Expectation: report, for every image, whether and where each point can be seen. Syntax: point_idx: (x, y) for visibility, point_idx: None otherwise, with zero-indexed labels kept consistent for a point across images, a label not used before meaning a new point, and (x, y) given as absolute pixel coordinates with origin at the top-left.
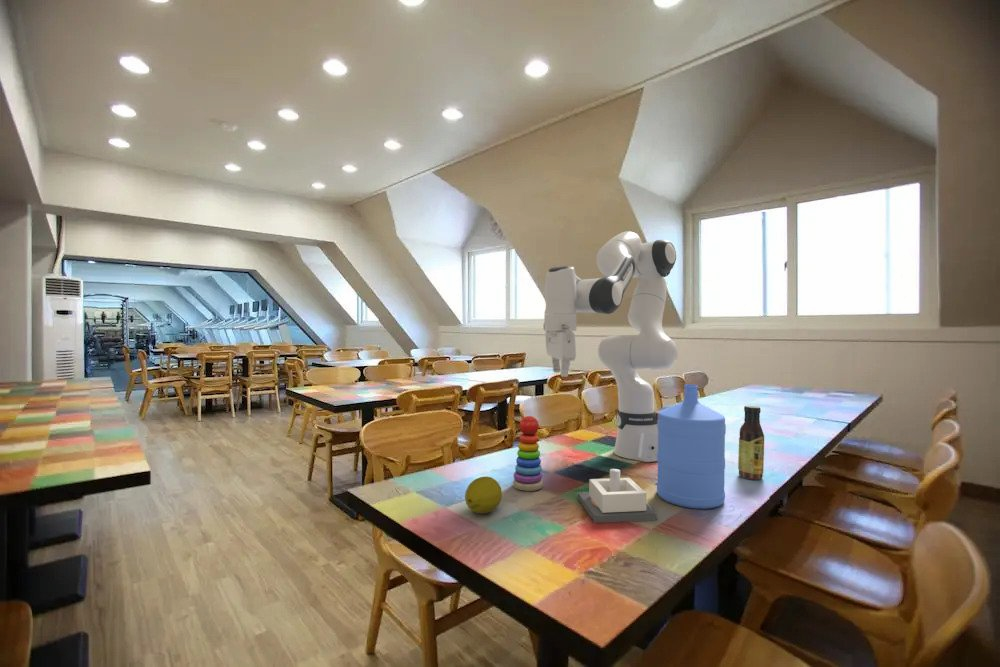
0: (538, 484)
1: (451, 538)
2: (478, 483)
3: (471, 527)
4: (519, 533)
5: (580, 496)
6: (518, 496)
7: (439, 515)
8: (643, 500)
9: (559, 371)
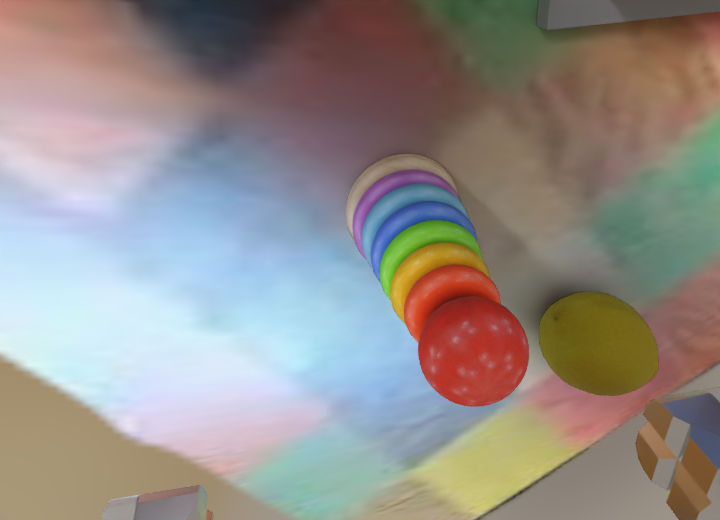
0: (448, 178)
1: (682, 354)
2: (643, 381)
3: None
4: (715, 226)
5: (584, 25)
6: (481, 232)
7: (565, 396)
8: None
9: (203, 495)
